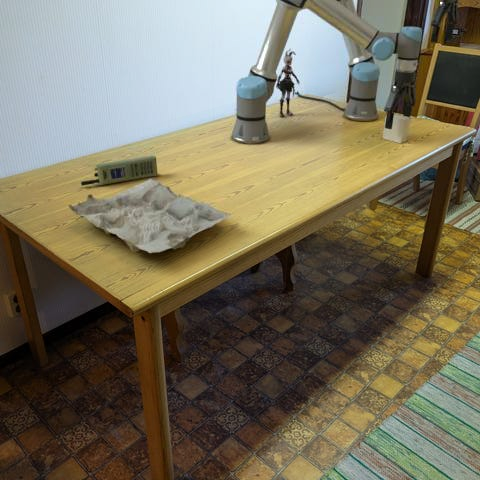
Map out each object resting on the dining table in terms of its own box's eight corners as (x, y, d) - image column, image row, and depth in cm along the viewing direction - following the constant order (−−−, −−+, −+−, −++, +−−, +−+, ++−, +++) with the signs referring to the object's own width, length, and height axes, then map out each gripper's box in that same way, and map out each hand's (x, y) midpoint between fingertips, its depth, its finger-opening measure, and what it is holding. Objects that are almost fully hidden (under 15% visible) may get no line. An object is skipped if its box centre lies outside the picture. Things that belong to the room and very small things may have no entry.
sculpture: (148, 192, 160) (63, 221, 139) (147, 174, 157) (60, 201, 136) (236, 233, 139) (152, 274, 118) (238, 213, 136) (151, 251, 115)
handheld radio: (158, 176, 170) (83, 189, 160) (155, 173, 172) (80, 186, 162) (156, 157, 167) (79, 169, 157) (153, 154, 169) (77, 166, 159)
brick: (400, 143, 203) (404, 119, 199) (382, 138, 209) (385, 115, 204) (406, 140, 206) (410, 117, 201) (388, 136, 211) (391, 113, 207)
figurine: (278, 119, 230) (281, 50, 215) (269, 116, 234) (271, 48, 219) (300, 113, 239) (304, 46, 224) (290, 111, 243) (294, 44, 228)
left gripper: (397, 76, 184) (389, 133, 194) (430, 67, 199) (420, 120, 210) (379, 73, 189) (372, 129, 199) (413, 65, 204) (404, 117, 214)
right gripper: (446, -11, 205) (435, 44, 216) (472, -13, 221) (461, 39, 231) (429, -12, 210) (419, 42, 220) (455, -14, 225) (445, 37, 236)
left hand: (397, 125), depth 204 cm, fingers open, 13 cm apart
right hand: (441, 41), depth 226 cm, fingers open, 13 cm apart
